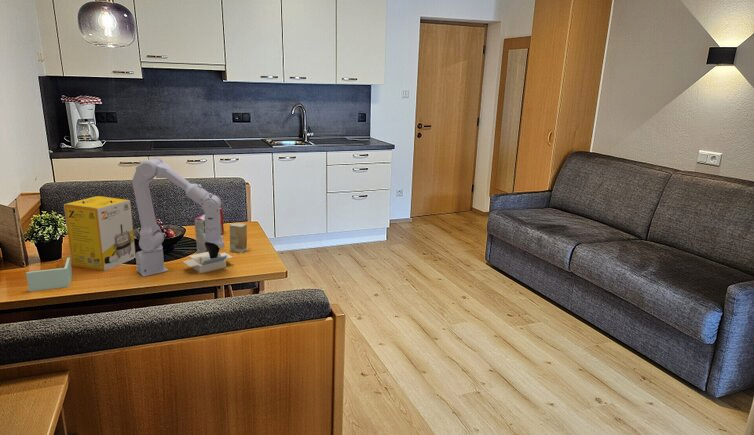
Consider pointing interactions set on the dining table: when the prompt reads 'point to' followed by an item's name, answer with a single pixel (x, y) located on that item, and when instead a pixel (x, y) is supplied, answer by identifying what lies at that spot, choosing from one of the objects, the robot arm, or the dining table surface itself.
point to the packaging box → (100, 232)
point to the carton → (200, 258)
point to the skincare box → (238, 237)
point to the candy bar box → (200, 234)
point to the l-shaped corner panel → (50, 278)
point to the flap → (214, 260)
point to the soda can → (221, 221)
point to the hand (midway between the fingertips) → (213, 260)
